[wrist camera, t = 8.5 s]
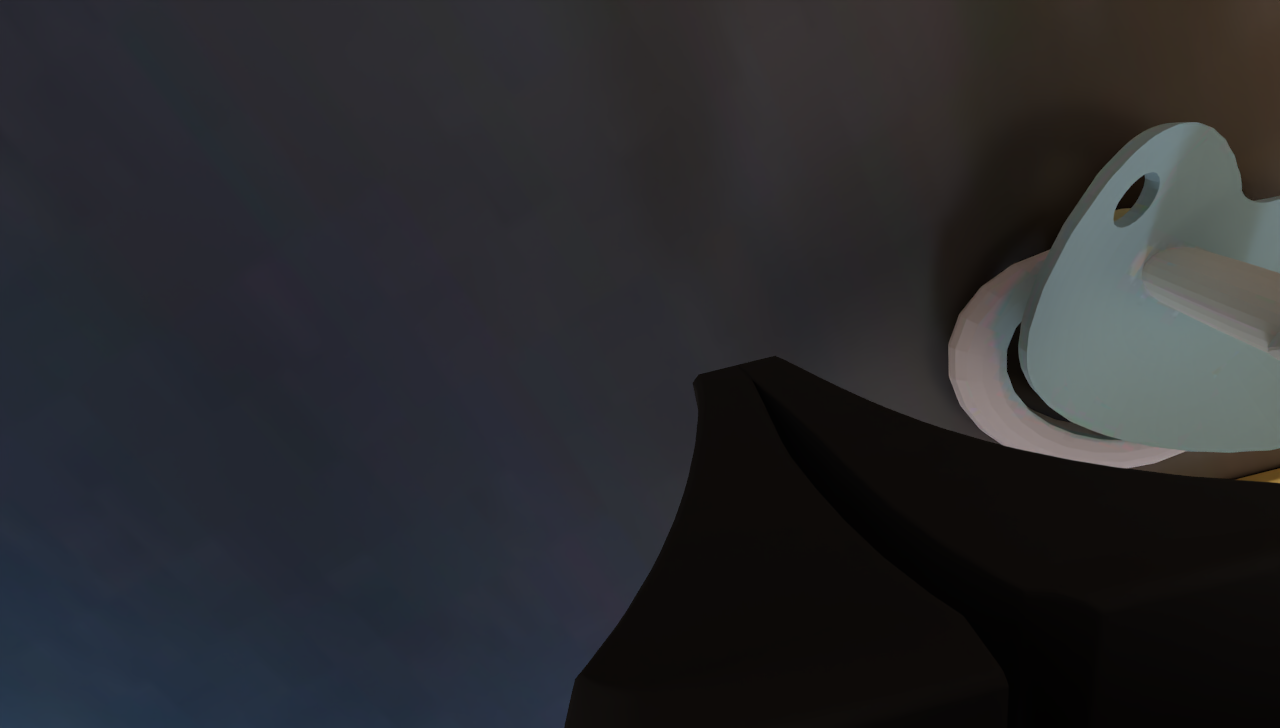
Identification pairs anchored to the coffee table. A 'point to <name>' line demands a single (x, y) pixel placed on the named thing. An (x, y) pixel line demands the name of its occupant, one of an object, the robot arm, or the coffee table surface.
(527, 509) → the coffee table surface
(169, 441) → the coffee table surface
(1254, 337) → the pacifier
